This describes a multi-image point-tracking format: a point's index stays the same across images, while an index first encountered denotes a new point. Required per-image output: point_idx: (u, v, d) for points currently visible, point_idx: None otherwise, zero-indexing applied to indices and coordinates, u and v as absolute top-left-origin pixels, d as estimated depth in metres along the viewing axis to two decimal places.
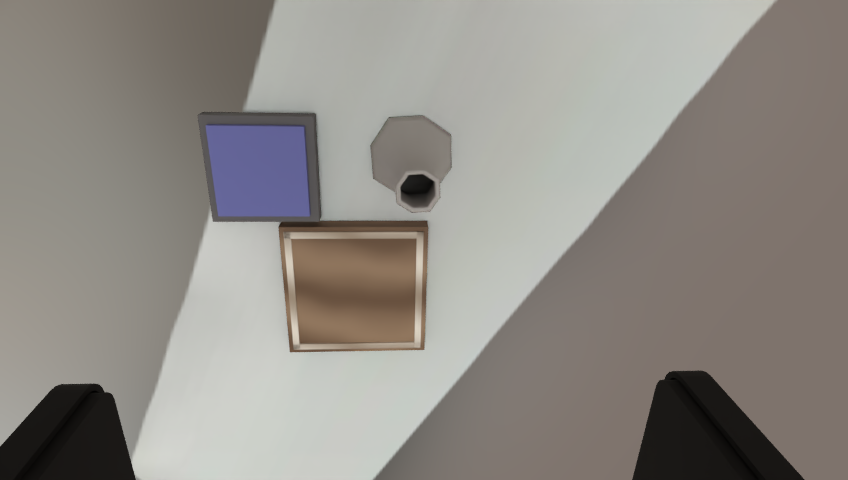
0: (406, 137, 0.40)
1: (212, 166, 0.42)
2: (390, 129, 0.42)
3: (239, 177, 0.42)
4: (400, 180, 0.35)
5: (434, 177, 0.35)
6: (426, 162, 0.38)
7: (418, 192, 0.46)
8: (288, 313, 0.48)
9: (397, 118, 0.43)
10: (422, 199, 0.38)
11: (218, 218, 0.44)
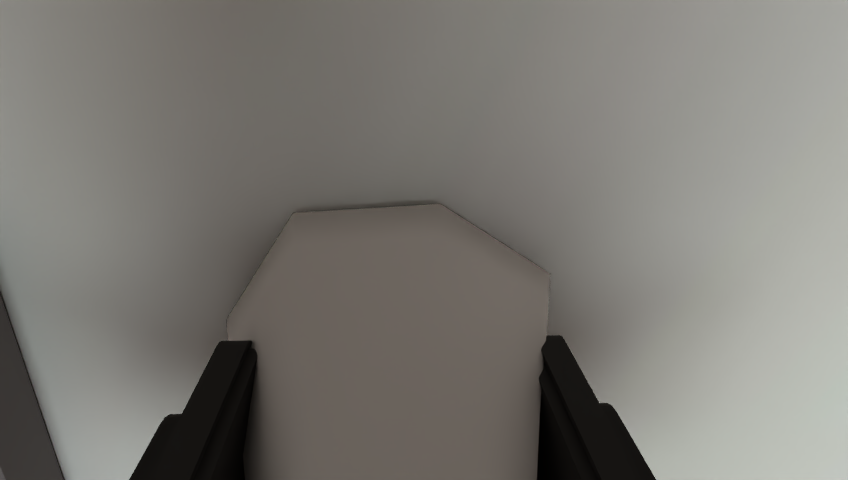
0: (355, 350, 0.08)
1: None
2: (291, 278, 0.09)
3: None
4: None
5: None
6: None
7: None
8: None
9: (328, 220, 0.10)
10: None
11: None
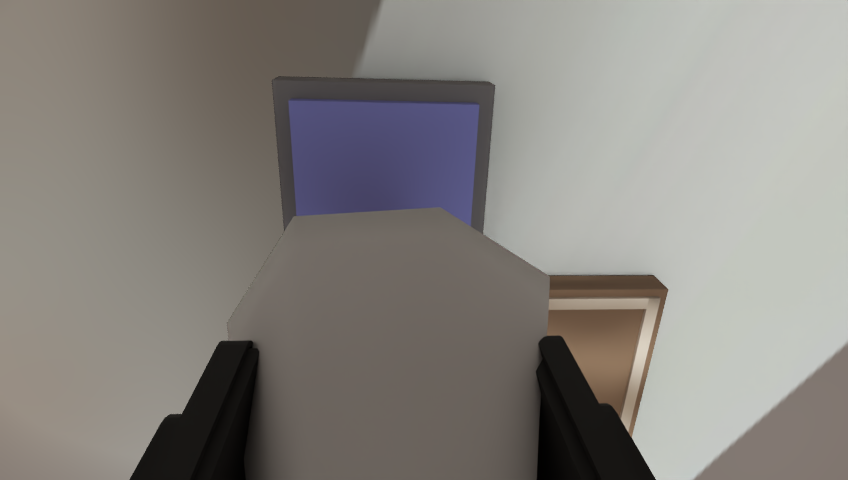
0: (355, 354, 0.08)
1: (296, 182, 0.22)
2: (292, 281, 0.09)
3: (346, 201, 0.22)
4: None
5: None
6: None
7: None
8: None
9: (329, 223, 0.10)
10: None
11: None
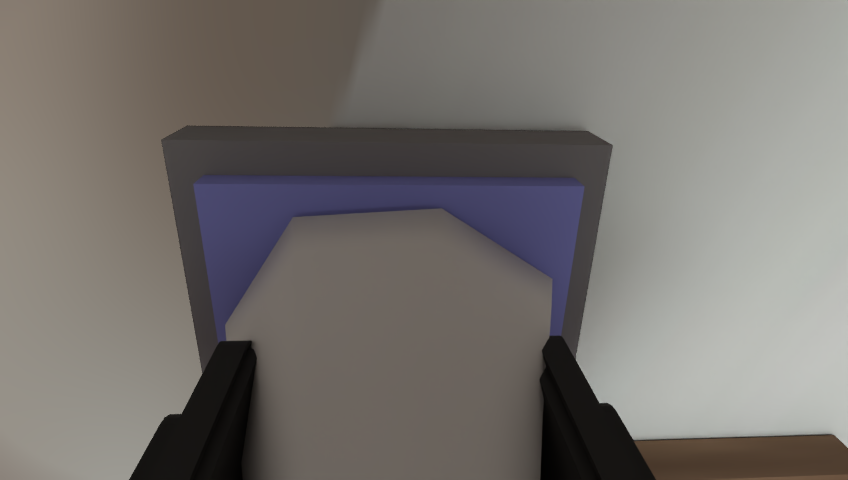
0: (354, 358, 0.08)
1: (221, 332, 0.11)
2: (290, 284, 0.09)
3: None
4: None
5: None
6: None
7: None
8: None
9: (328, 225, 0.10)
10: None
11: None
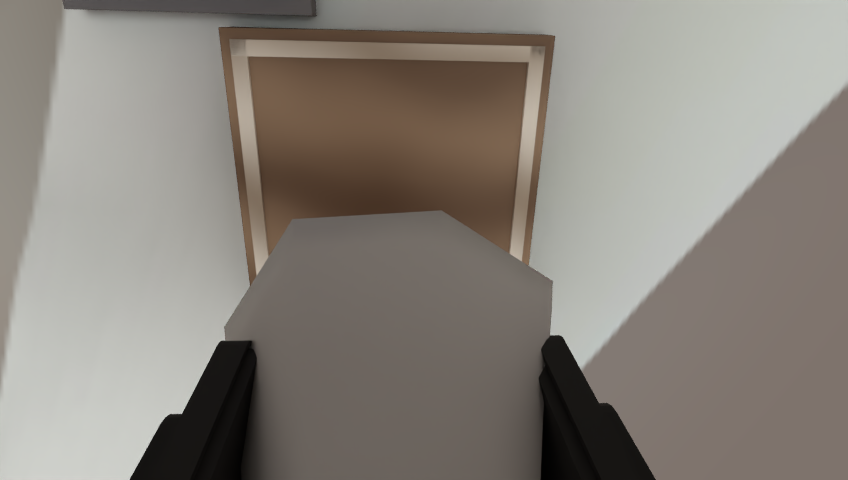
0: (354, 361, 0.07)
1: None
2: (291, 286, 0.09)
3: None
4: None
5: None
6: None
7: None
8: (248, 238, 0.23)
9: (328, 227, 0.10)
10: None
11: (77, 0, 0.19)
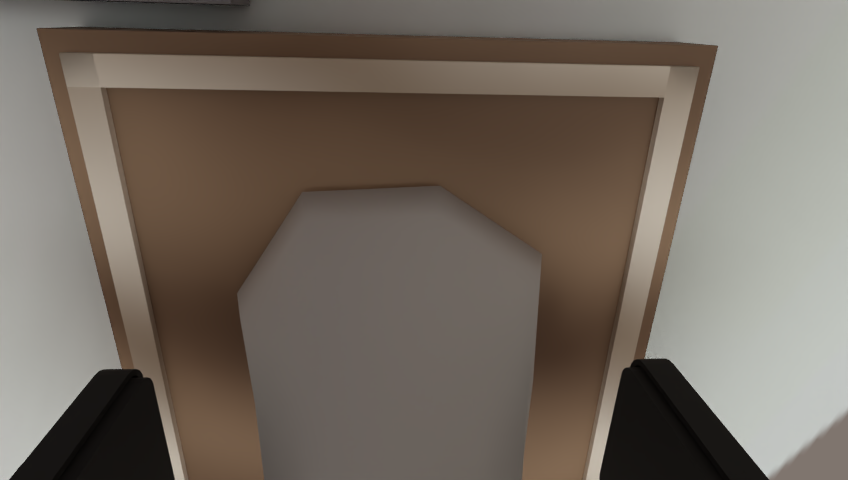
0: (360, 312, 0.08)
1: None
2: (300, 250, 0.10)
3: None
4: None
5: None
6: None
7: None
8: None
9: (335, 199, 0.11)
10: None
11: None
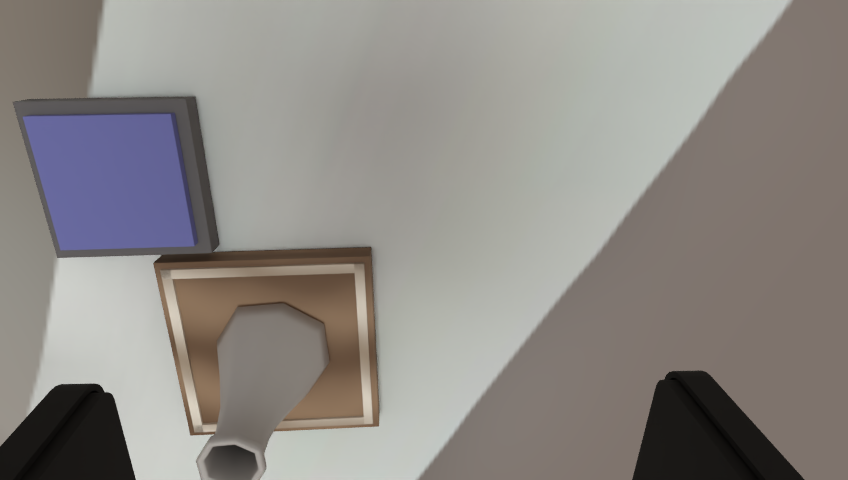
0: (247, 347, 0.30)
1: (42, 178, 0.28)
2: (234, 328, 0.31)
3: (84, 192, 0.29)
4: (201, 454, 0.24)
5: (251, 448, 0.24)
6: (260, 400, 0.27)
7: None
8: (182, 383, 0.34)
9: (247, 309, 0.32)
10: (252, 457, 0.26)
11: (65, 253, 0.31)
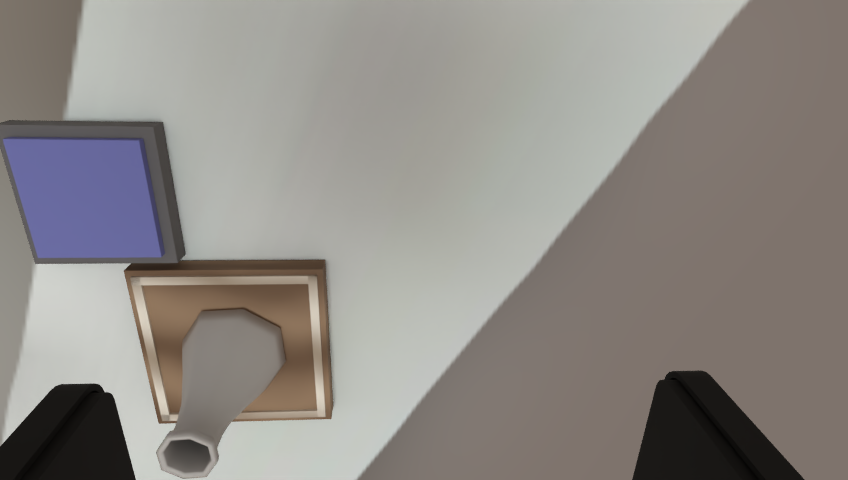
0: (208, 350, 0.33)
1: (20, 193, 0.31)
2: (197, 331, 0.34)
3: (59, 207, 0.32)
4: (161, 446, 0.28)
5: (205, 442, 0.28)
6: (216, 399, 0.30)
7: None
8: (150, 377, 0.38)
9: (210, 313, 0.35)
10: (208, 448, 0.30)
11: (42, 259, 0.33)
